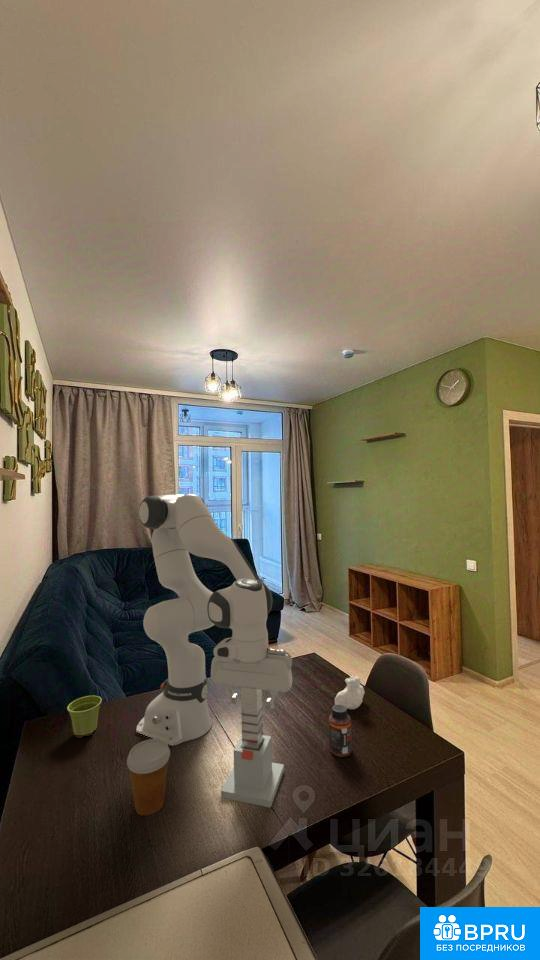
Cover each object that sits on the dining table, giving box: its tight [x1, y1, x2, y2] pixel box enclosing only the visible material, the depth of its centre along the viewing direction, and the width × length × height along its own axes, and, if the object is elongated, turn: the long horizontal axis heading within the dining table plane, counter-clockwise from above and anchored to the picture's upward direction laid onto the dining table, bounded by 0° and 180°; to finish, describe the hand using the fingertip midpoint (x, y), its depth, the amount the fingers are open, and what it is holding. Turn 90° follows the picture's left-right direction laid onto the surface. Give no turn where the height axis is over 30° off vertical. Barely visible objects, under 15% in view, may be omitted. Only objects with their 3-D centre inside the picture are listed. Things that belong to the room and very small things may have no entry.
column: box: [240, 687, 264, 751], centre depth 94 cm, size 4×4×16 cm
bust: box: [334, 674, 365, 710], centre depth 126 cm, size 12×8×11 cm
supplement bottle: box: [328, 704, 353, 758], centre depth 105 cm, size 6×6×11 cm
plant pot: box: [66, 695, 103, 735], centre depth 116 cm, size 9×9×9 cm
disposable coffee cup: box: [126, 738, 171, 816], centre depth 88 cm, size 10×10×12 cm
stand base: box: [220, 734, 285, 808], centre depth 94 cm, size 12×12×10 cm
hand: (251, 704), depth 94 cm, fingers open, 8 cm apart
